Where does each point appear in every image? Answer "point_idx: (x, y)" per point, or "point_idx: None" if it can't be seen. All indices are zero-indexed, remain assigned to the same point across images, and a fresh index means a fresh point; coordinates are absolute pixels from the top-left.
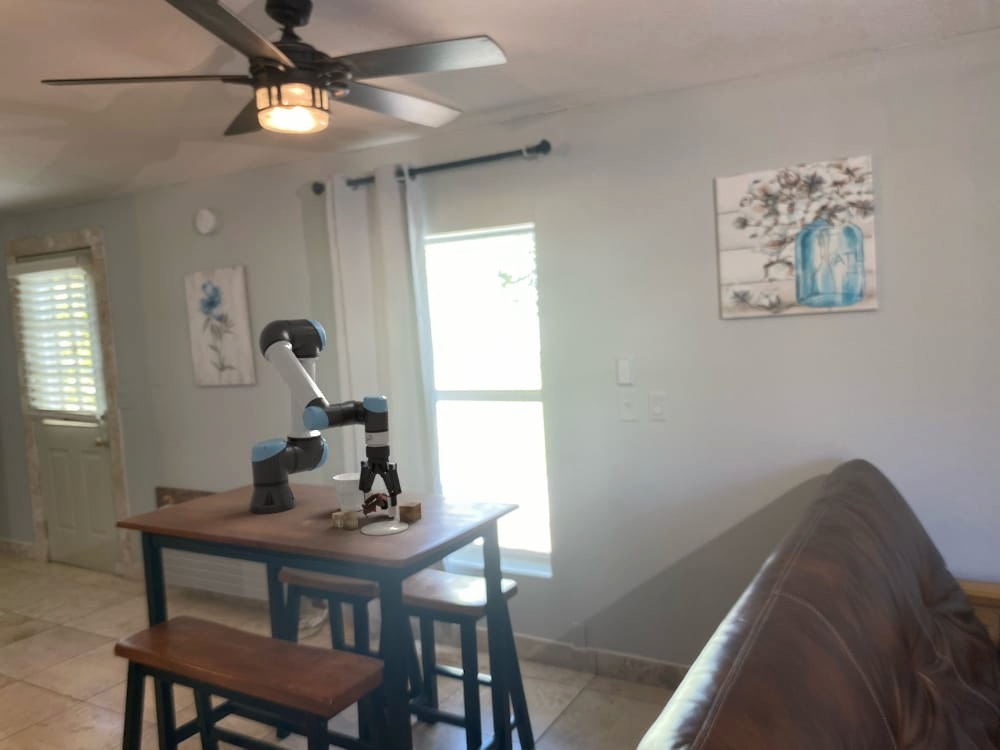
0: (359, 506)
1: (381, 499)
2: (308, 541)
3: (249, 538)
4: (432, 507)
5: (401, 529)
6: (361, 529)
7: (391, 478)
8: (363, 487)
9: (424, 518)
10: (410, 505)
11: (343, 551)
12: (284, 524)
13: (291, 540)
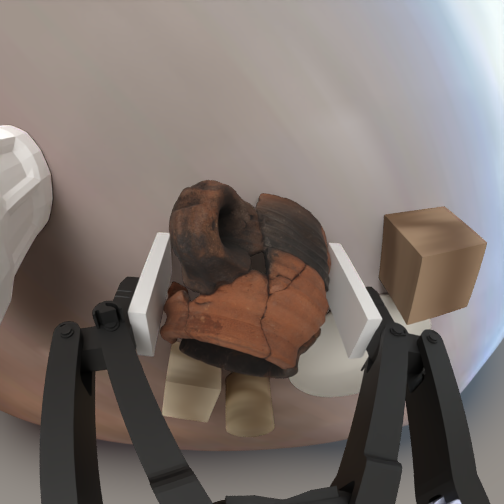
0: (41, 206)
1: (301, 353)
2: (227, 441)
3: (104, 439)
4: (410, 8)
5: None
6: (299, 388)
7: (422, 454)
8: (94, 367)
9: (455, 209)
10: (454, 300)
11: (340, 439)
12: None
13: (187, 442)
